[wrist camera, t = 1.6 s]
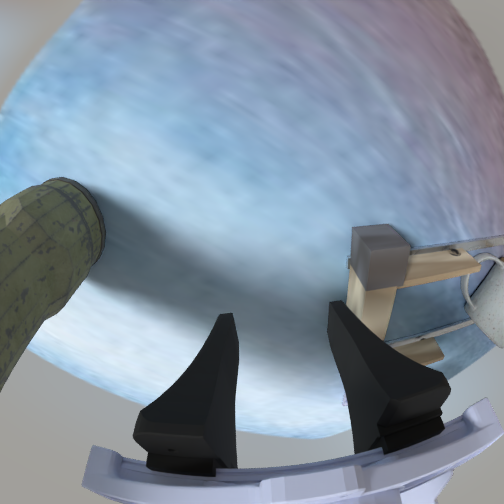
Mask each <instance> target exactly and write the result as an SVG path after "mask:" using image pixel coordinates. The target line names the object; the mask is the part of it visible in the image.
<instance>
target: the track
mask: <svg viewBox="0 0 504 504" xmlns="http://www.w3.org/2000/svg"><path fill="white" fill-rule="evenodd" d="M499 245H504V235H499V236H493V237H486V238H479V239H472V240H465V241H458V242H451V243H444V244H436V245H429V246H422V247H414V248H410V253H409V256H412V255H419V254H426V253H432V252H439V251H445V250H448V249H451V248H452V249H458V248H463V249H464V250H465V251H471V250H477V249H482V248H488V247H493V246H499ZM350 258H351V256H347V261H346V267H347V269H350ZM471 324H474V322H473V320H472V319H471V318H468V319H465V320H462V321H459V322H456V323H453V324H450V325H447V326H443V327H440V328H437V329H433V330H430V331H426V332H423V333H419V334H416V335H412V336H408V337H404V338H400V339H396V340H392V341H388V342H385V343H386V344H388V345H389V346H391V347H392V348H394V347H398V346H402V345H406V344H409V343H413V342H417V341H420V340H421V339H422V338H426V339H427V338H430V337H436V336H439V335H442V334H445V333H448V332H451V331H454V330H457V329H460V328H463V327H466V326H469V325H471Z"/></svg>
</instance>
